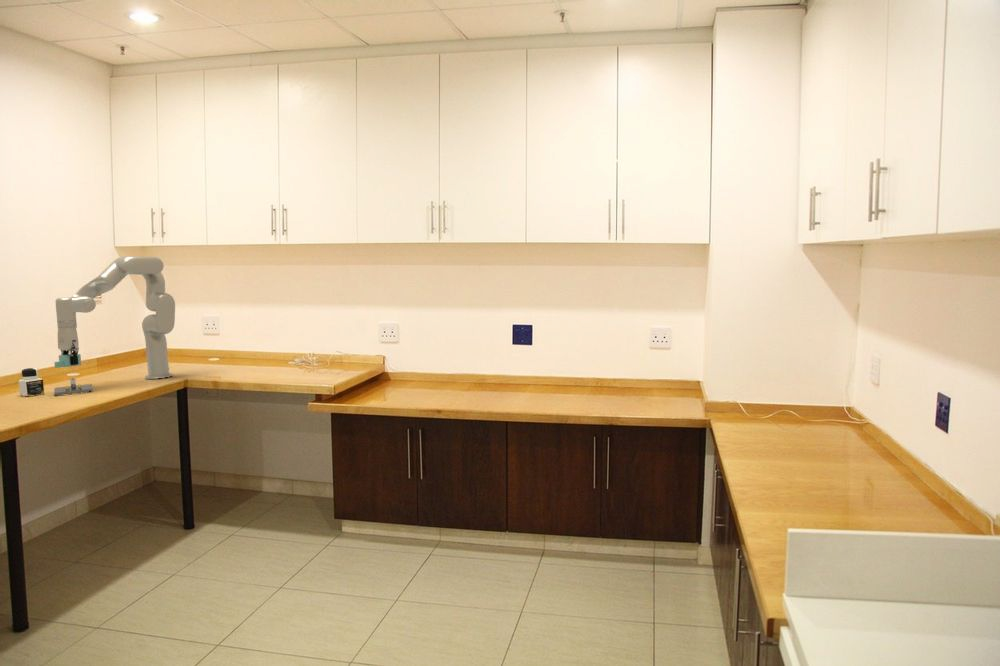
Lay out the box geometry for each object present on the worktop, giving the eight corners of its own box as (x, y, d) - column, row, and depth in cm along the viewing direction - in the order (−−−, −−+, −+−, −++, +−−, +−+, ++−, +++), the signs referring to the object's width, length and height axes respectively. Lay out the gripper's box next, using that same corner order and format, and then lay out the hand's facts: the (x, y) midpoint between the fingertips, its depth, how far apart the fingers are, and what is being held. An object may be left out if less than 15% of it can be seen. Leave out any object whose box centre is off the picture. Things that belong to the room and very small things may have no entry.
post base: (54, 391, 335) (53, 378, 335) (92, 387, 343) (90, 374, 342) (54, 396, 322) (53, 382, 322) (93, 391, 330) (92, 378, 329)
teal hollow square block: (74, 364, 335) (73, 353, 335) (81, 365, 332) (80, 354, 331) (52, 367, 328) (51, 356, 327) (59, 368, 324) (58, 356, 324)
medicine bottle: (27, 397, 322) (24, 370, 321) (19, 395, 326) (16, 369, 325) (44, 394, 328) (42, 367, 327) (36, 392, 332) (33, 366, 331)
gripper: (49, 325, 331) (52, 364, 333) (67, 326, 321) (71, 366, 323) (66, 323, 337) (69, 361, 339) (85, 324, 327) (88, 364, 329)
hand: (70, 363), depth 331 cm, fingers closed on teal hollow square block, 6 cm apart
